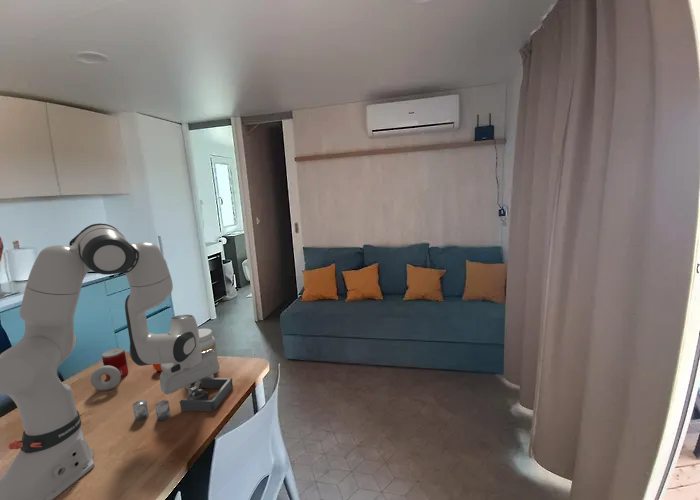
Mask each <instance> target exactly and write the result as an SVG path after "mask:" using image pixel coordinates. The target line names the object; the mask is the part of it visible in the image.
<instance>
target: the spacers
mask: <svg viewBox="0 0 700 500" xmlns="http://www.w3.org/2000/svg"><path fill="white" fill-rule="evenodd" d="M205 378H215V376H214V374H212V375H209V376H207V377H205ZM195 383H196V382H194V383H192V384H190V385H191V386H195ZM154 407H155V413H156V419H157V421H158V422H164V421H166V420H168V419H169V418H171V417H172V415H171V414H172V413H171V410H170V409H171V408H170V407H171V406H170V402H169V400H167V399H164V400H160V401H158V402H156V403H155V405H154ZM132 410H133V414H134V420H135V421H137V422H139V421H143V420H146V419H147V418H148V417H149V416H150V414H149V408H148V403H147V400H146V399H141V400H137V401H136V402H134V403H133V404H132Z"/></svg>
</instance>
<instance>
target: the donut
mask: <svg viewBox="0 0 700 500" xmlns="http://www.w3.org/2000/svg"><path fill="white" fill-rule="evenodd" d="M106 374H107V375H109V376H110V377H111V379H110V380H107V381H105V380H103V379H102V377H103V376H104V375H106ZM121 379H122V378H121V374H120V372H119V370H118V369H117V368H115V367H113V366H109V365H107V366H104V365H102V366H99V367H98V368H96V369H95V370H94V371H93V372H92V373H91V376H90V383H91V386H92V387H93V388H94V389H96V390H98V391H101V392H102V391H103V392H104V391H110V390H112V389H114V388H116V387H117V386H118V385H119V383H120V382H121Z"/></svg>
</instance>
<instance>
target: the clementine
mask: <svg viewBox="0 0 700 500" xmlns="http://www.w3.org/2000/svg"><path fill="white" fill-rule="evenodd" d="M152 367H153V369H154V370H155V371H157V372H162V371H163V370H162V369H161V364H152Z"/></svg>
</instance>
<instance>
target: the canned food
mask: <svg viewBox="0 0 700 500" xmlns="http://www.w3.org/2000/svg"><path fill="white" fill-rule="evenodd" d="M101 358H102V363H103V366H107V365H109V366H113V367H115V368H117V369H118V370H119V372H120V374H121V379H123V378H125V377H126V376H127V375H128V374H129V368H128V362H127V357H126V351H125V348H124V347H115V348H111V349H108V350H106V351H104V352H103V353H102V354H101ZM105 378H106V380H107V381H109V380H110V379H111V377H110V376H109V375H107V374H105Z"/></svg>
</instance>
